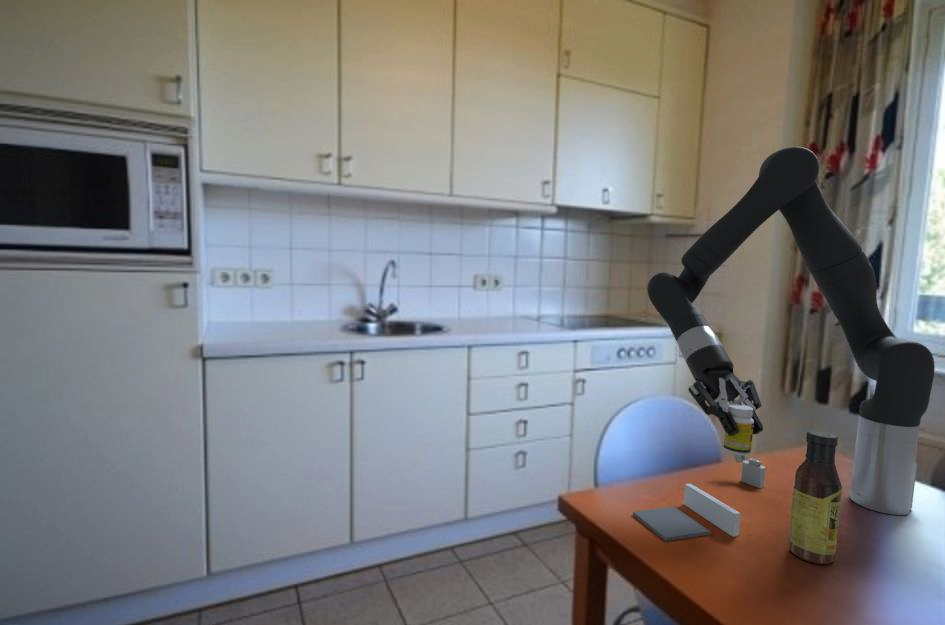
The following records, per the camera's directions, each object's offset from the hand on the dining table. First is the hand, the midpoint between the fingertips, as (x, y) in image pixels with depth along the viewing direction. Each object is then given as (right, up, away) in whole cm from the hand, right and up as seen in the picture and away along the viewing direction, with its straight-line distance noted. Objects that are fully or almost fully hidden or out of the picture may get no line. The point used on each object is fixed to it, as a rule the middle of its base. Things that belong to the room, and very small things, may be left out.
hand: (746, 432), depth 90 cm
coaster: (-14, -16, -1) cm, 21 cm away
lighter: (+10, -15, +19) cm, 26 cm away
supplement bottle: (-1, -4, +2) cm, 5 cm away
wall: (-6, -16, +1) cm, 17 cm away
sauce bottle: (+5, -18, -9) cm, 20 cm away
